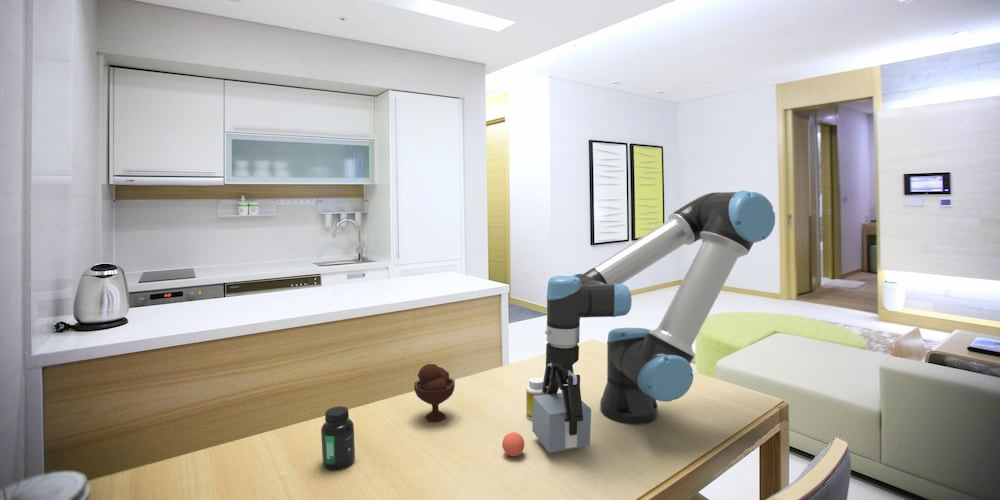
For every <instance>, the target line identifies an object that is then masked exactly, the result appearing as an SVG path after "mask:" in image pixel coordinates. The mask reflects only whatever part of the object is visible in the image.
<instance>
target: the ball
mask: <svg viewBox="0 0 1000 500" xmlns="http://www.w3.org/2000/svg"><path fill="white" fill-rule="evenodd" d="M501 445H502V449H503V451H504V453H505V454H506V455H508V456H511V457H517V456H519V455H520V454H522V453H523V451H524V449H525V440H524V438H523V436H522V435H521V434H519V433H518V432H508V433H507V434H506V435H505V436H504V437H503V440H502V444H501Z"/></svg>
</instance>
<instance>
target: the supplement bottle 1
mask: <svg viewBox="0 0 1000 500" xmlns="http://www.w3.org/2000/svg"><path fill="white" fill-rule="evenodd" d="M324 416H325V418H324V423H323V424H322V426H321V428H320V434H321V437H320V438H321V439H320V440H321V451H322V452H321V453H322V454H321V455H322V456H321V457H322V466H323V467H324V468H325V469H327V470H329V471H339V470H343V469H346V468H348V467H350V466H351V465H352V464H353V463H354V462H355V460H356V459H355V458H356V450H355V449H356V448H355V446H356V445H355V444H356V443H355V425H354V422H353V421H352V419H351V418H350V415H349V409H348V407H346V406H341V405H340V406H334V407H330V408H328V409H326V411H325V412H324Z"/></svg>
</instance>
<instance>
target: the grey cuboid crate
mask: <svg viewBox="0 0 1000 500" xmlns="http://www.w3.org/2000/svg"><path fill="white" fill-rule="evenodd" d="M581 401H582V411H583V421H578V424H577V447H573V448H565V447H564V445H565V420H564V419H567V415H566V410H565V404H564V399H563V394H562V392H557V393H554V394H546V395H537V396H533V420H532V424H531V425H532V429H531V430H532V433H533V434H534V435H535V436H536V438H537V439H538V440H539V442H540V443H541V445H542V446H543V447H544V448H545V449H546V450H547V452H548V453H553V452H559V451H566V450H572V449H578V448H579V449H580V448H586V447H590V446H591V435H592V434H591V433H592V432H591V431H592V429H591V428H592V425H591V424H592V408H591V407H590V406H589V405H588V404H586V403H585V402H584V401H583V400H582V399H581Z"/></svg>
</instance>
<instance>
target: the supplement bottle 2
mask: <svg viewBox="0 0 1000 500" xmlns="http://www.w3.org/2000/svg"><path fill="white" fill-rule="evenodd" d="M528 381H529V382H528V385H527V386H526V390H525V392H526V393H525V394H526V395H525V396H526V399H525V404H526V405H525V409H526V411H525V412H526V413H525V415H526V417H527V418H528V420H532V421H533V396H537V395H545V393H543V392H542V388H543V381H544V378H541V377H531V378H530V379H528Z"/></svg>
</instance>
